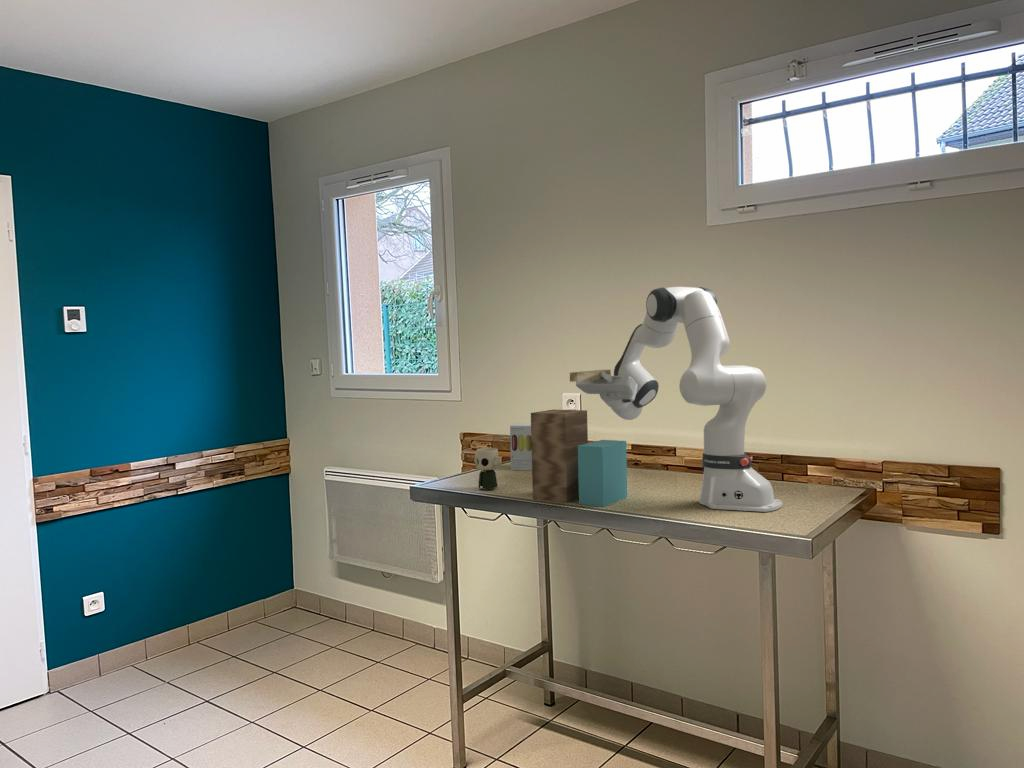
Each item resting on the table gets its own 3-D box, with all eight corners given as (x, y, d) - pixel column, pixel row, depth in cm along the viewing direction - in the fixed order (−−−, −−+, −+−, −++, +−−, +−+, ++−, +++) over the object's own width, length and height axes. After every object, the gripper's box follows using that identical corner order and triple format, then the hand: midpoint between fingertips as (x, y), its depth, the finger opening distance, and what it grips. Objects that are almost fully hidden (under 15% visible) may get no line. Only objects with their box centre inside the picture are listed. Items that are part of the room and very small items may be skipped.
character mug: (468, 489, 252) (467, 449, 252) (483, 485, 258) (482, 447, 257) (492, 492, 245) (491, 451, 245) (507, 489, 251) (506, 449, 250)
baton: (610, 378, 258) (610, 369, 258) (577, 381, 240) (577, 372, 240) (603, 378, 260) (603, 369, 260) (569, 381, 242) (569, 372, 242)
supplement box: (509, 470, 289) (508, 425, 288) (515, 466, 298) (514, 422, 297) (535, 470, 287) (534, 425, 286) (539, 466, 296) (538, 422, 295)
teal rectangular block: (627, 497, 232) (626, 440, 231) (603, 506, 220) (602, 447, 219) (603, 495, 236) (602, 439, 236) (579, 504, 224) (577, 445, 223)
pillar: (588, 495, 237) (587, 410, 236) (567, 502, 226) (565, 414, 225) (555, 491, 244) (553, 409, 243) (532, 499, 233) (530, 412, 232)
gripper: (588, 383, 270) (570, 365, 260) (642, 384, 258) (625, 364, 248) (584, 400, 268) (566, 382, 258) (638, 401, 256) (621, 382, 246)
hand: (595, 373), depth 253 cm, fingers closed on baton, 3 cm apart
